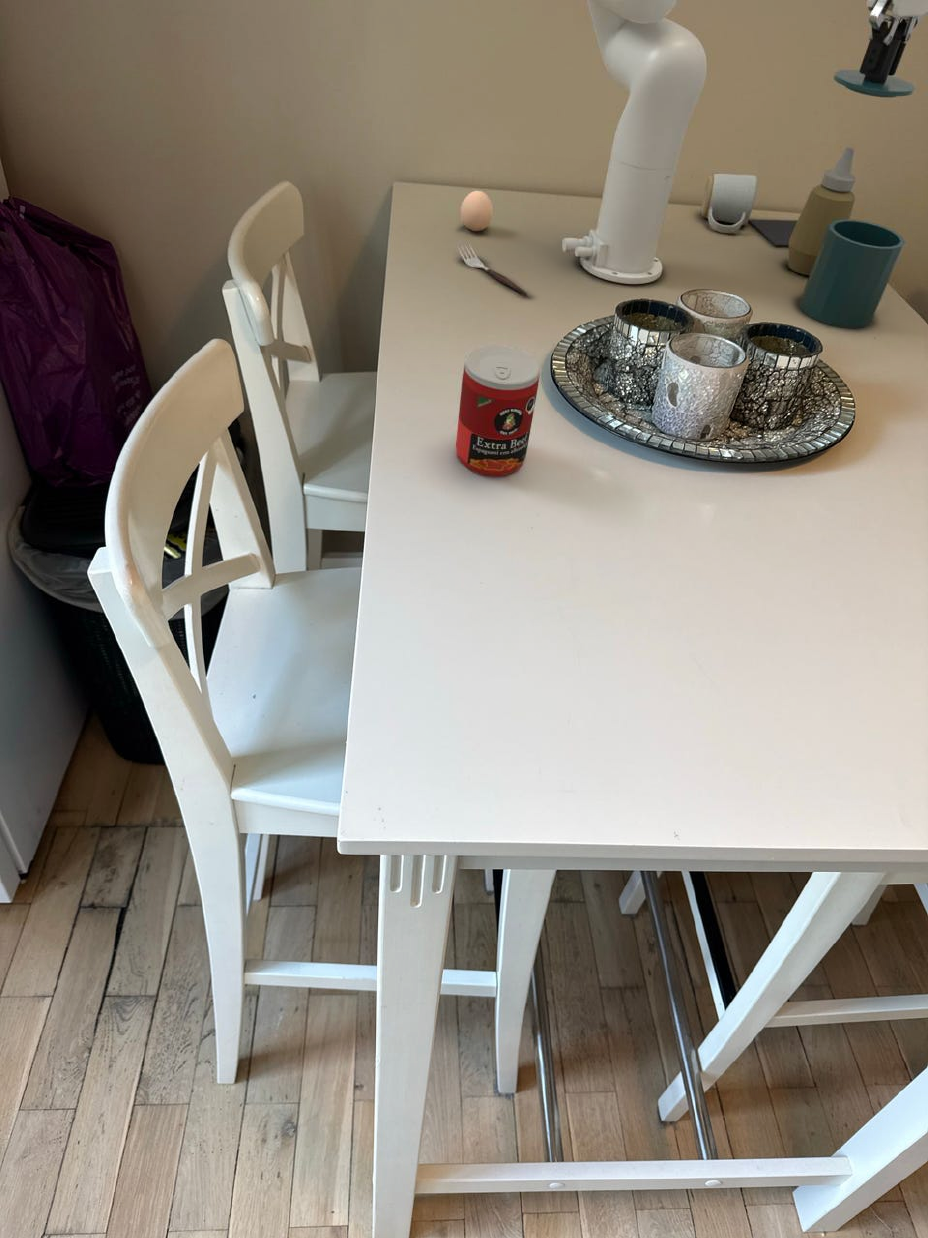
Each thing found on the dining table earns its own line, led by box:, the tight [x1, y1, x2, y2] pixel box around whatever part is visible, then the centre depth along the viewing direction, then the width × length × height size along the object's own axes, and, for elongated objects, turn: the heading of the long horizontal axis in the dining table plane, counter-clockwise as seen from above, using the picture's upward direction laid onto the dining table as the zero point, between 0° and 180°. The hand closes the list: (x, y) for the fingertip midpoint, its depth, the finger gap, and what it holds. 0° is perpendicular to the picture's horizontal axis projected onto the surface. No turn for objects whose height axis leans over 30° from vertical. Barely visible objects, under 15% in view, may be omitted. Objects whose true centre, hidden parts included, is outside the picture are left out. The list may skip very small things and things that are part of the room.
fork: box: [455, 241, 528, 296], centre depth 128 cm, size 3×16×2 cm, turn 36°
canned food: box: [455, 344, 541, 477], centre depth 91 cm, size 8×8×11 cm
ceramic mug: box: [700, 173, 758, 234], centre depth 151 cm, size 11×8×8 cm
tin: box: [799, 218, 906, 329], centre depth 127 cm, size 10×10×12 cm
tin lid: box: [833, 37, 916, 99], centre depth 125 cm, size 11×11×6 cm
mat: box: [747, 219, 798, 248], centre depth 153 cm, size 11×11×1 cm
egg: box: [460, 190, 494, 232], centre depth 139 cm, size 5×5×6 cm
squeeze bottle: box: [787, 146, 856, 276], centre depth 136 cm, size 8×8×18 cm
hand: (876, 72), depth 125 cm, fingers closed on tin lid, 3 cm apart
